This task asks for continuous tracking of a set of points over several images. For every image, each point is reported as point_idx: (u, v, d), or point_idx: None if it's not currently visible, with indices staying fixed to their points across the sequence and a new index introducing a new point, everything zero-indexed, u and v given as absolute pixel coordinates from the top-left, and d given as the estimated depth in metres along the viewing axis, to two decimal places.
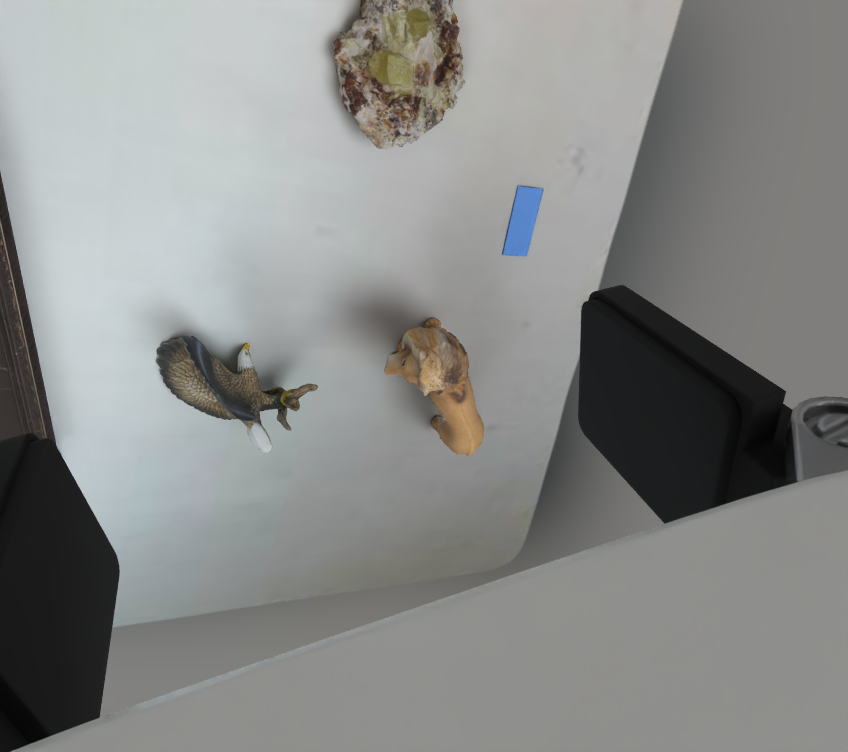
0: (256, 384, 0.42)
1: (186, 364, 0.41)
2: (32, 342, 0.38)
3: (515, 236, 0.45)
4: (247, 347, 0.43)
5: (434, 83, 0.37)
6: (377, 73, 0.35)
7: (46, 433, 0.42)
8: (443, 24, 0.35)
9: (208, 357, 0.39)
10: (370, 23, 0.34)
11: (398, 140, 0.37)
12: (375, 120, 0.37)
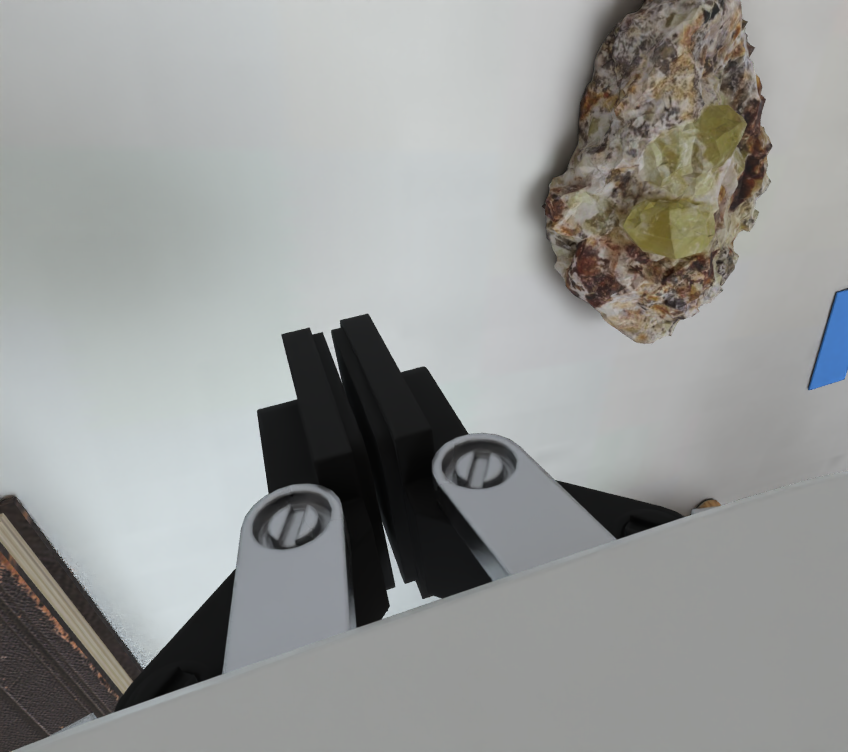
0: None
1: None
2: None
3: (829, 361, 0.28)
4: None
5: (729, 210, 0.20)
6: (644, 243, 0.18)
7: None
8: (747, 108, 0.18)
9: None
10: (621, 159, 0.17)
11: (675, 323, 0.21)
12: (634, 306, 0.20)
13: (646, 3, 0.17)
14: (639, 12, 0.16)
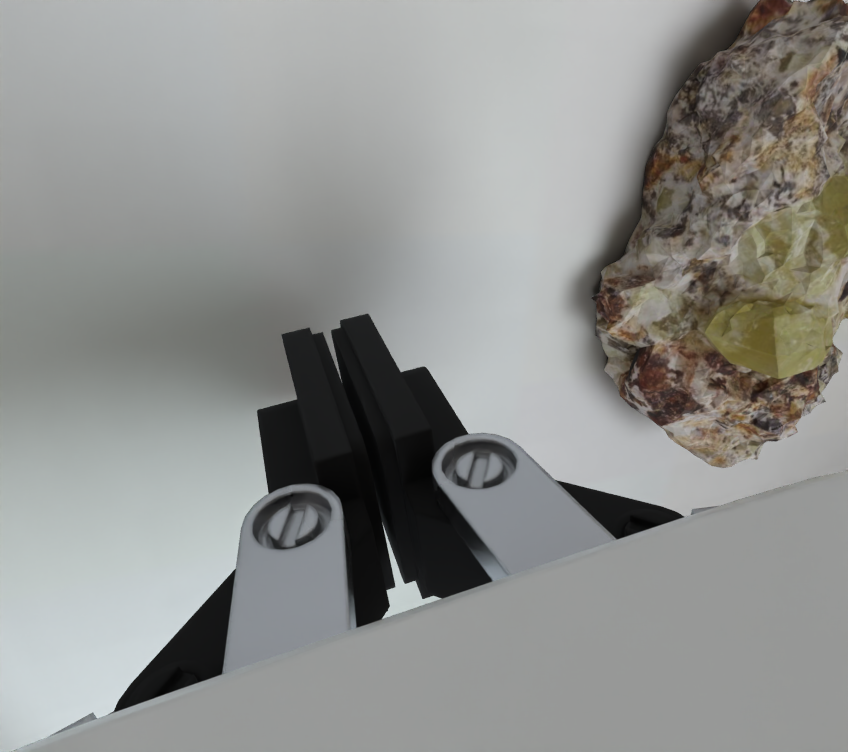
0: None
1: None
2: None
3: None
4: None
5: None
6: (733, 355, 0.14)
7: None
8: None
9: None
10: (707, 247, 0.13)
11: None
12: (711, 423, 0.16)
13: (744, 36, 0.12)
14: (738, 50, 0.12)
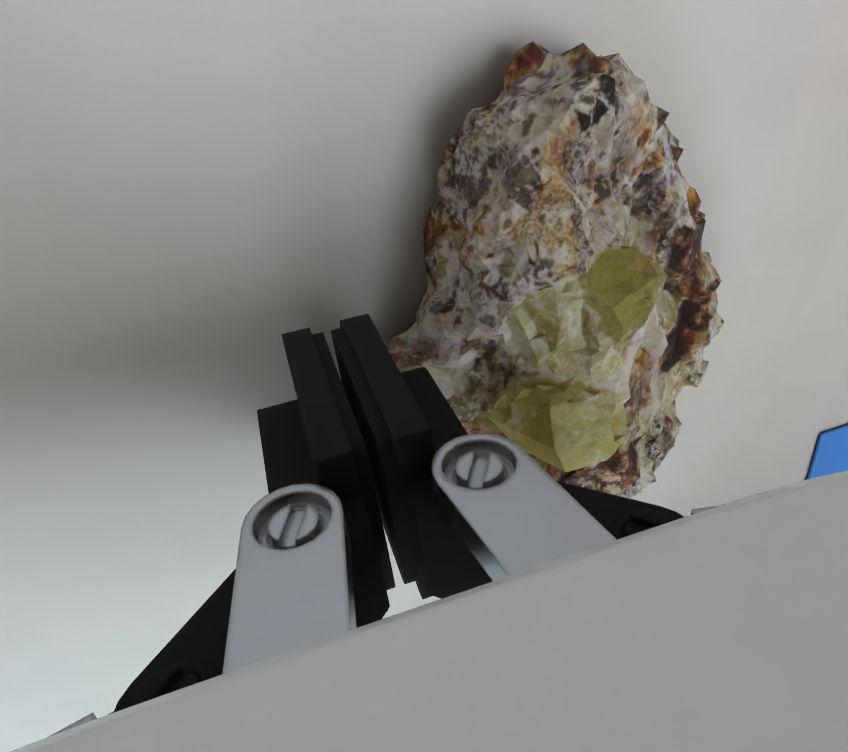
0: None
1: None
2: None
3: None
4: None
5: (659, 373, 0.14)
6: (520, 443, 0.12)
7: None
8: (674, 240, 0.12)
9: None
10: (474, 327, 0.11)
11: None
12: None
13: (503, 91, 0.11)
14: (485, 109, 0.10)
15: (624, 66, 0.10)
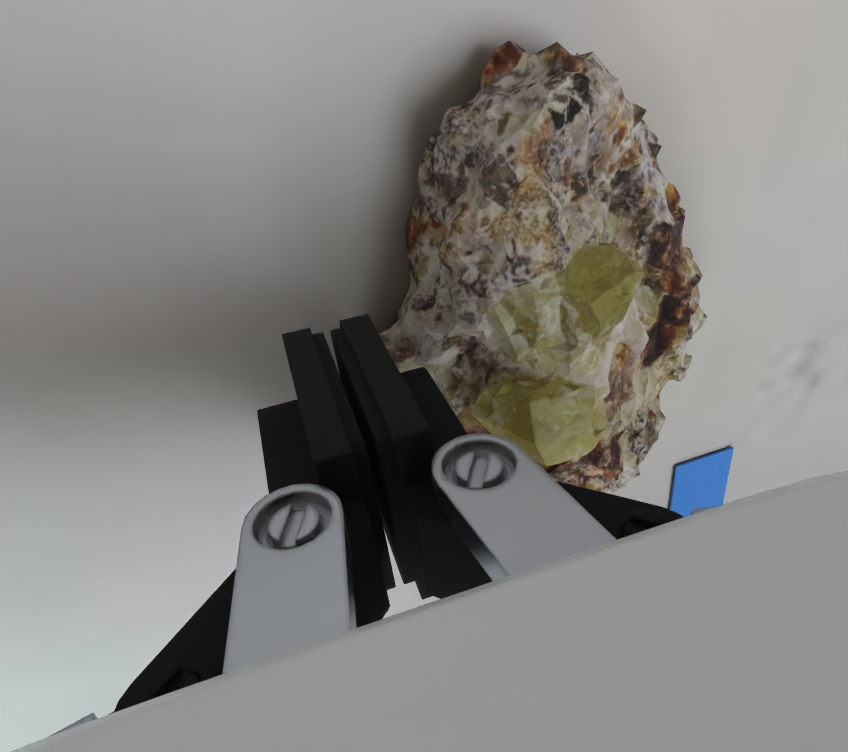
0: None
1: None
2: None
3: None
4: None
5: (641, 367, 0.14)
6: None
7: None
8: (653, 236, 0.12)
9: None
10: (454, 324, 0.11)
11: None
12: None
13: (481, 90, 0.11)
14: (462, 108, 0.10)
15: (599, 64, 0.10)
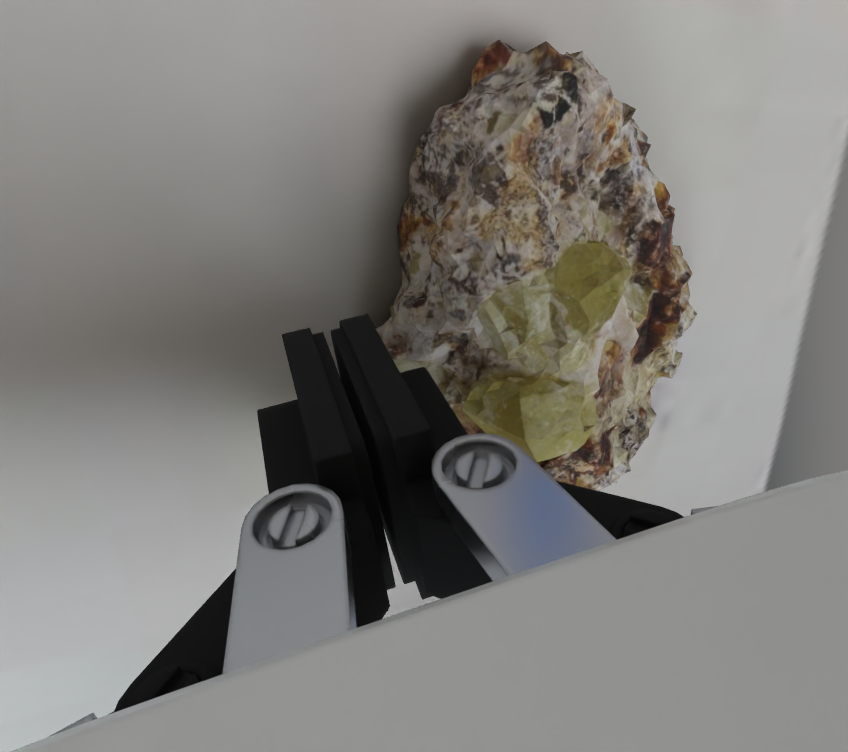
0: None
1: None
2: None
3: None
4: None
5: (632, 364, 0.14)
6: None
7: None
8: (643, 234, 0.12)
9: None
10: (445, 321, 0.11)
11: None
12: None
13: (471, 88, 0.11)
14: (452, 107, 0.10)
15: (588, 64, 0.10)
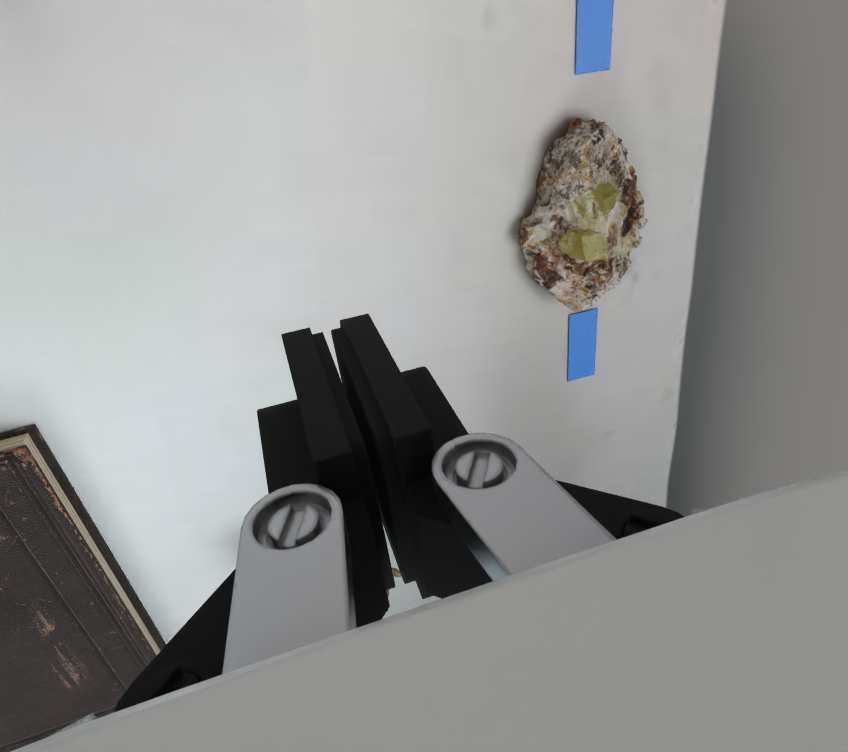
0: None
1: None
2: (131, 593, 0.40)
3: (577, 361, 0.42)
4: None
5: (621, 236, 0.36)
6: (570, 253, 0.34)
7: None
8: (624, 183, 0.34)
9: None
10: (556, 209, 0.34)
11: (594, 299, 0.37)
12: (570, 288, 0.36)
13: (568, 132, 0.33)
14: (563, 138, 0.33)
15: (606, 125, 0.33)
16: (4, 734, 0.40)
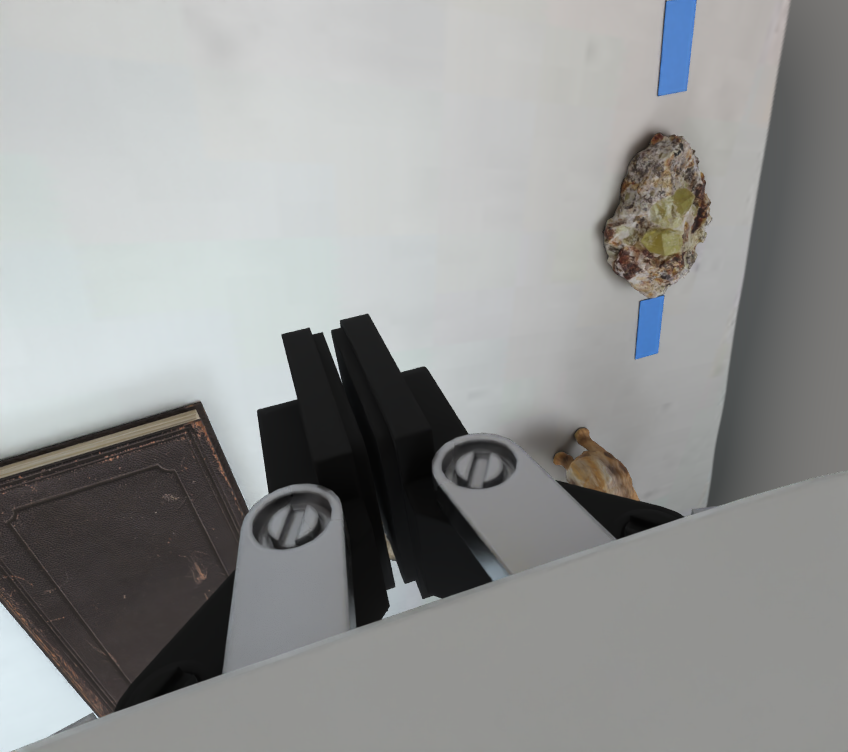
0: None
1: None
2: None
3: (644, 341, 0.48)
4: None
5: (691, 233, 0.42)
6: (650, 248, 0.40)
7: None
8: (696, 187, 0.40)
9: None
10: (640, 211, 0.39)
11: (666, 287, 0.43)
12: (646, 278, 0.42)
13: (650, 145, 0.39)
14: (647, 151, 0.38)
15: (684, 139, 0.38)
16: None
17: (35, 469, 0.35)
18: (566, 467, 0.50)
